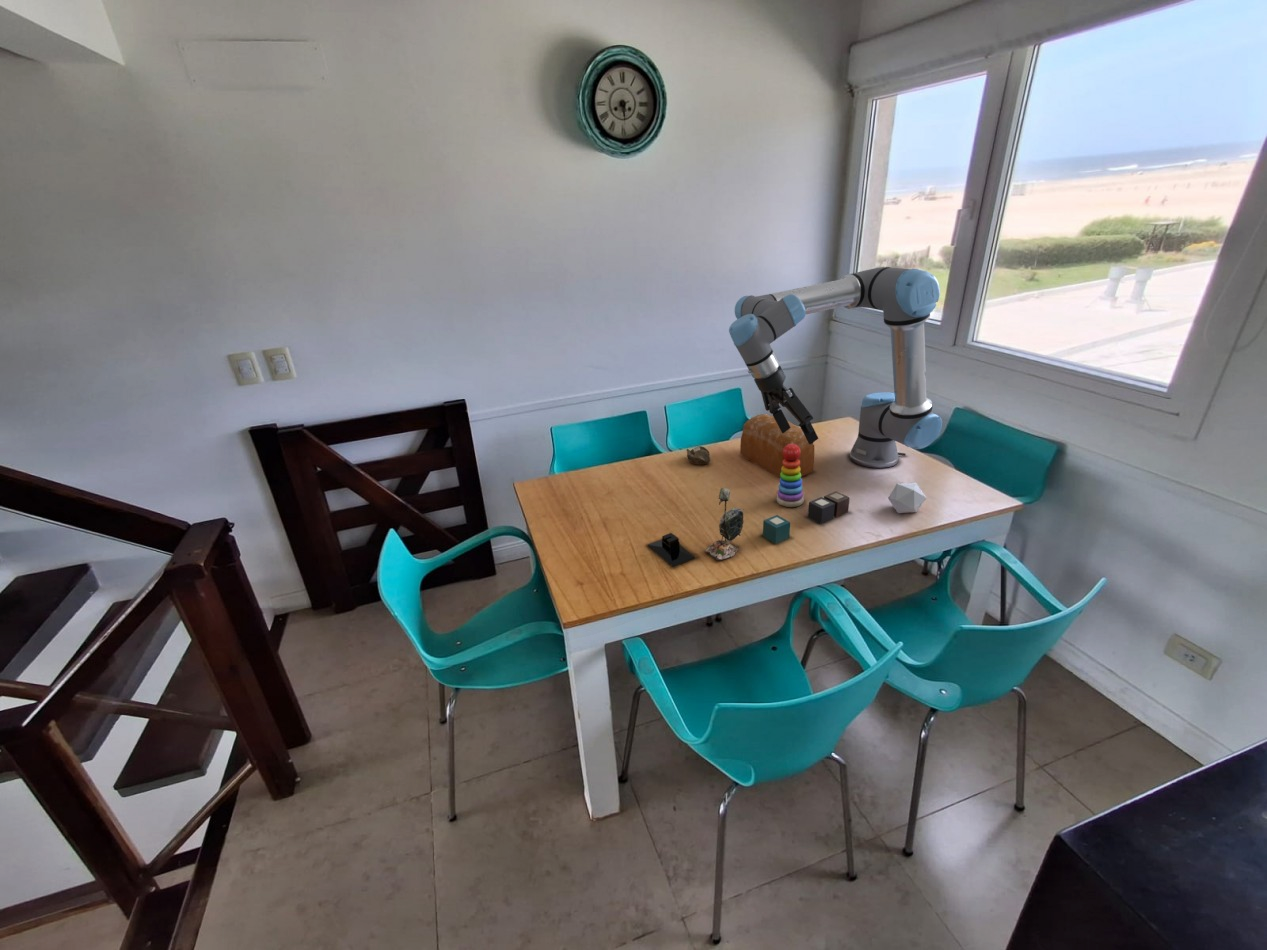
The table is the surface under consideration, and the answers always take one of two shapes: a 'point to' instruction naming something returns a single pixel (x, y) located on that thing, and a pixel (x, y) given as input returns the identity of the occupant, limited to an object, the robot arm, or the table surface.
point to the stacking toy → (790, 478)
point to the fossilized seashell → (698, 455)
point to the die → (906, 497)
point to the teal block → (776, 529)
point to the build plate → (671, 550)
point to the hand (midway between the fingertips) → (799, 435)
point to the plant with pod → (727, 529)
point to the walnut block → (839, 503)
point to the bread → (774, 444)
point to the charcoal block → (821, 510)
